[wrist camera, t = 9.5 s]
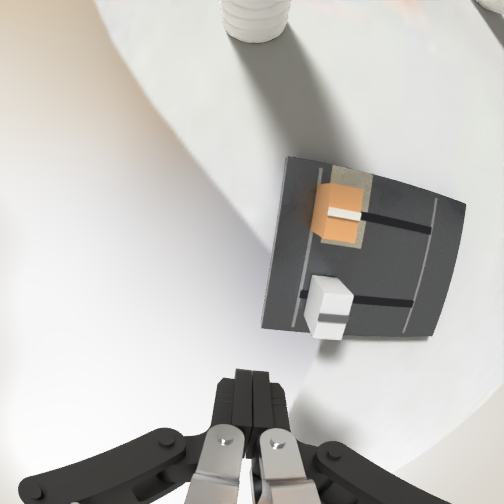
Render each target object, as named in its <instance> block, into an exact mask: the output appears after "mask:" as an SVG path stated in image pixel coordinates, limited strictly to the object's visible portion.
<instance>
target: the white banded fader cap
mask: <svg viewBox="0 0 504 504" xmlns="http://www.w3.org/2000/svg"><path fill="white" fill-rule="evenodd" d="M353 297H354V295H353V294H352V293H351V292H350V291H349V290H348V289H347V287H346V286H345V285H344V284H343V283H342V282H341V281H340V280H339V279H338V278H334V277H325V276H317V275H312V278H311V283H310V288H309V293H308V297H307V302H306V306H305V311H304V317H305V320H306V322H307V325H308V327H309V330H310V332H311V335H312V337H313V338H314V339H330V340H341V339H342V336H343V333H344V329H345V326H346V323H348V320H349V312H350V309H351V305H352V301H353Z"/></svg>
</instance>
